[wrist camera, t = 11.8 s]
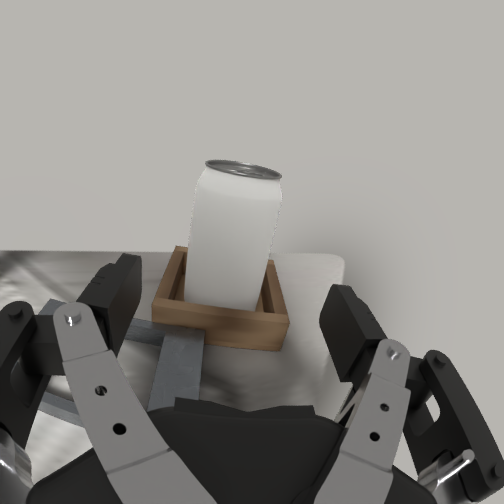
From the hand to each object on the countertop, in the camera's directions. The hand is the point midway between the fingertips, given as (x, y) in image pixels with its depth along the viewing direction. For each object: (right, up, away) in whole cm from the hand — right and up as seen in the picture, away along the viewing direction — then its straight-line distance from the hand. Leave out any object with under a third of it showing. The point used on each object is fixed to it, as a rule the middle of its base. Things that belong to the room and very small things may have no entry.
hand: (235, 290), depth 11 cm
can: (-2, -3, +13) cm, 14 cm away
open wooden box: (-2, -3, +14) cm, 14 cm away
